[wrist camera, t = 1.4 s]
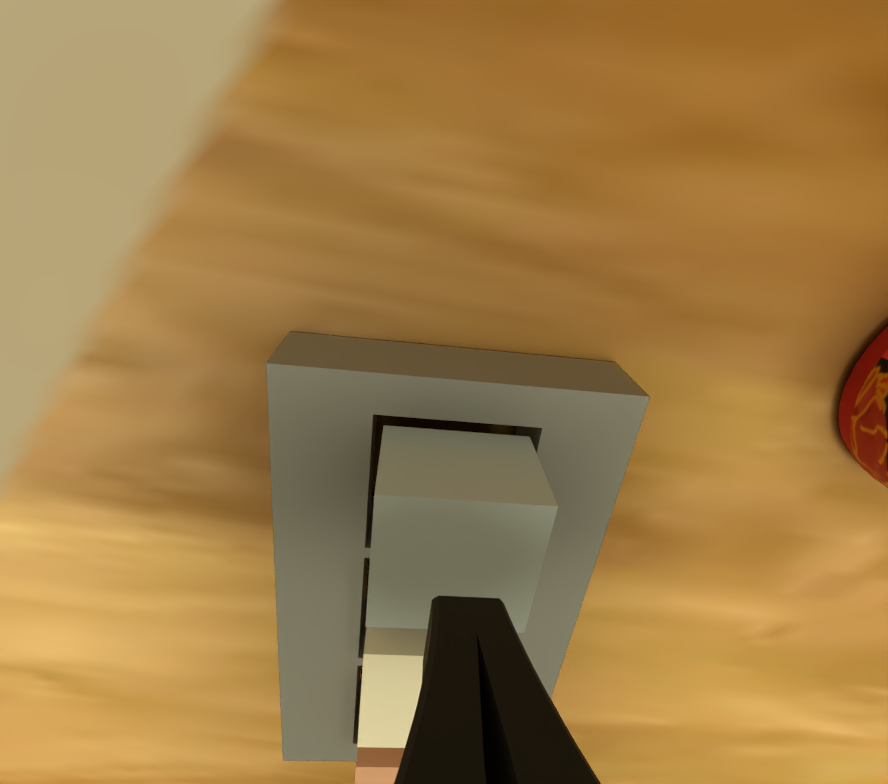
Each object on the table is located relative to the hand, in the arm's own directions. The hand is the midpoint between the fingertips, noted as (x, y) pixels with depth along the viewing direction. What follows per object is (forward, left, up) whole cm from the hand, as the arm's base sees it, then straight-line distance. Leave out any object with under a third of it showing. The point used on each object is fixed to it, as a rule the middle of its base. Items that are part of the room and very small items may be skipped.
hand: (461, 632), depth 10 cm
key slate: (0, 0, -5) cm, 5 cm away
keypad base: (-5, 0, -7) cm, 9 cm away
